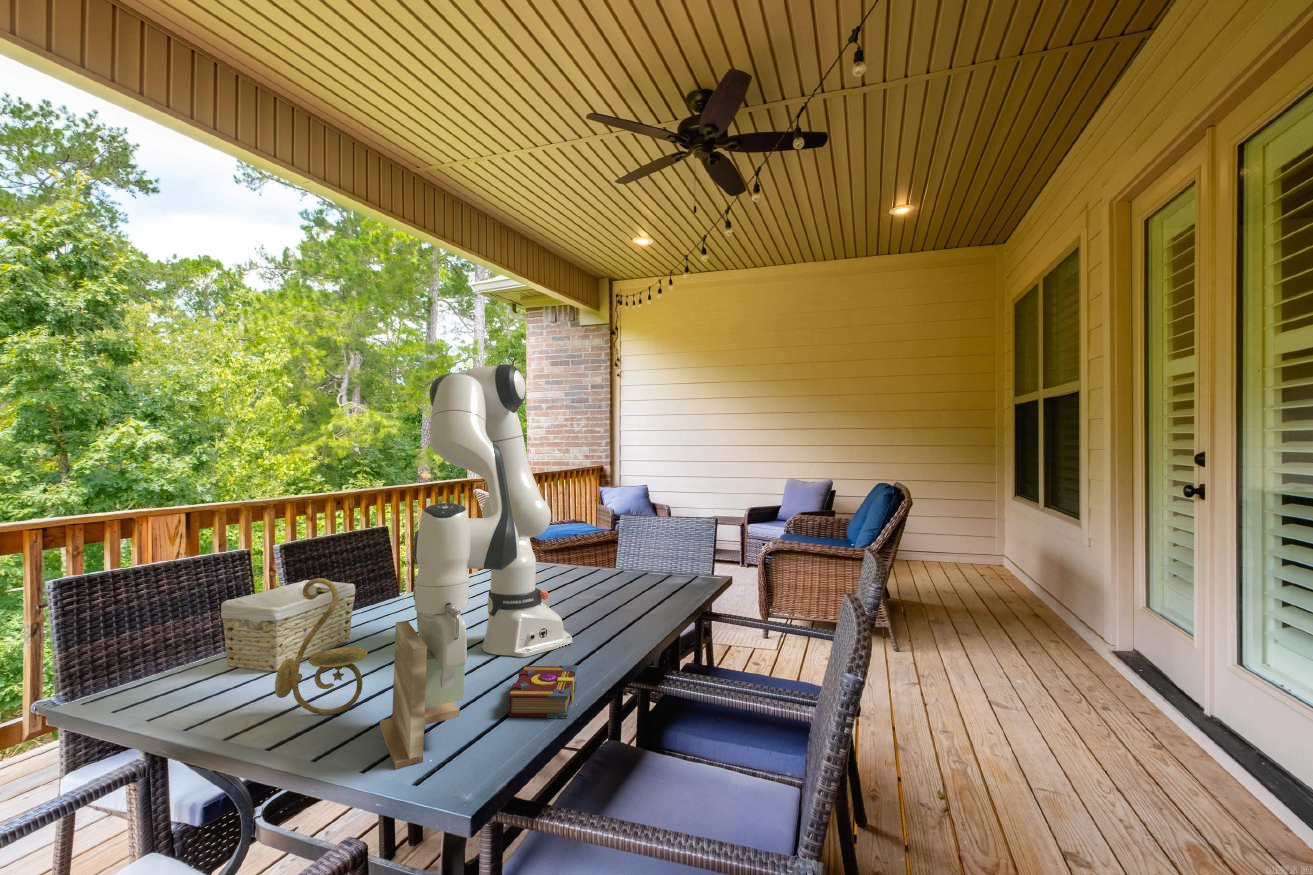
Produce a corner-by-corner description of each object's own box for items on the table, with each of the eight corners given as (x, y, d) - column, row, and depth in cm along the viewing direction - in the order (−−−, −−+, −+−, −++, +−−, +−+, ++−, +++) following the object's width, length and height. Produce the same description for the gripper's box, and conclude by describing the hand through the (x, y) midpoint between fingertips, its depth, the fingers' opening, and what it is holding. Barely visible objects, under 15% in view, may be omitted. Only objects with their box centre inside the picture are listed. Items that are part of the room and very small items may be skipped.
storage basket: (273, 676, 120) (276, 607, 120) (213, 668, 124) (216, 601, 124) (357, 641, 143) (359, 583, 143) (304, 634, 147) (307, 578, 147)
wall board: (438, 712, 105) (441, 615, 105) (461, 751, 92) (465, 640, 92) (379, 725, 99) (383, 623, 100) (395, 769, 86) (399, 651, 87)
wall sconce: (268, 728, 97) (275, 584, 98) (296, 704, 107) (301, 573, 108) (353, 725, 99) (359, 583, 100) (373, 701, 109) (377, 572, 109)
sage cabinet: (460, 687, 102) (462, 631, 102) (469, 698, 98) (470, 640, 98) (413, 696, 98) (415, 639, 98) (420, 709, 93) (422, 648, 93)
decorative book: (506, 719, 103) (507, 692, 103) (524, 683, 119) (525, 660, 120) (567, 720, 104) (568, 692, 104) (577, 684, 120) (578, 660, 120)
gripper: (477, 609, 91) (475, 695, 91) (446, 583, 108) (444, 655, 108) (437, 615, 87) (434, 704, 87) (411, 587, 104) (408, 662, 104)
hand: (439, 677), depth 97 cm, fingers open, 8 cm apart
